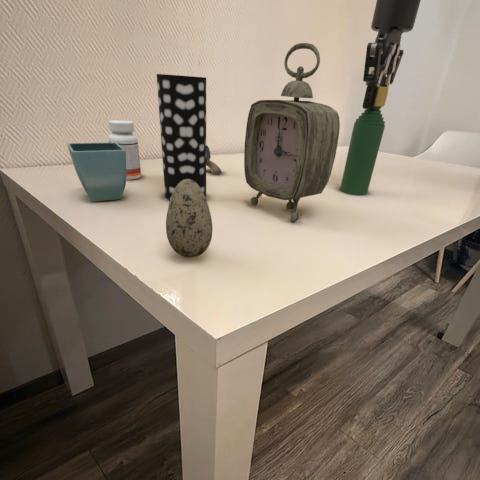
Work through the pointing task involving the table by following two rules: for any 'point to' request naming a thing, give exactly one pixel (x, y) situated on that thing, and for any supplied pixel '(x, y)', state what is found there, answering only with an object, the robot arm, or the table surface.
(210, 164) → the eagle figurine
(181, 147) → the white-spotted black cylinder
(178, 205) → the decorative egg
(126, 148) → the pill bottle
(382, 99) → the cap
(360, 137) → the bottle
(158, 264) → the table surface
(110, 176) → the flower pot
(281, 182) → the tabletop clock
